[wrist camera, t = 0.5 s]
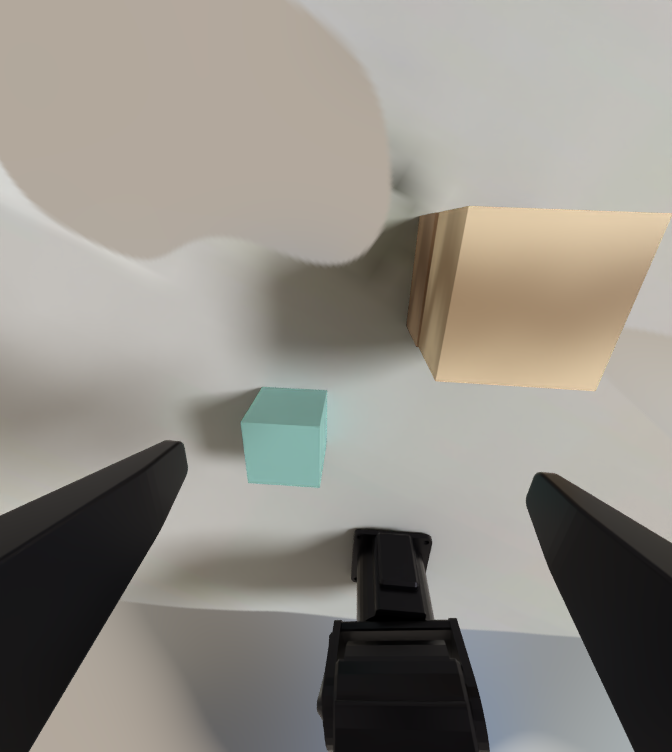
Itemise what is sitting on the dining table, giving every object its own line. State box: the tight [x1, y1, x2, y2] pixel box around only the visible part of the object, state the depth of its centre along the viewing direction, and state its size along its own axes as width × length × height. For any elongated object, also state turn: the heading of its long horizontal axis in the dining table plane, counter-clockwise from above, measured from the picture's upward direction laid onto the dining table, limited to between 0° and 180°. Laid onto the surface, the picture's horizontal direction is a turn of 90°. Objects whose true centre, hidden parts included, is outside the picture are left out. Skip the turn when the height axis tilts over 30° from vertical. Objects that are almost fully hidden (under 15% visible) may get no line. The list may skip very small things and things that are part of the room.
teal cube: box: [241, 387, 327, 488], centre depth 21 cm, size 4×4×4 cm
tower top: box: [418, 206, 672, 391], centre depth 13 cm, size 6×6×4 cm
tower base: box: [406, 213, 439, 347], centre depth 16 cm, size 6×6×4 cm
